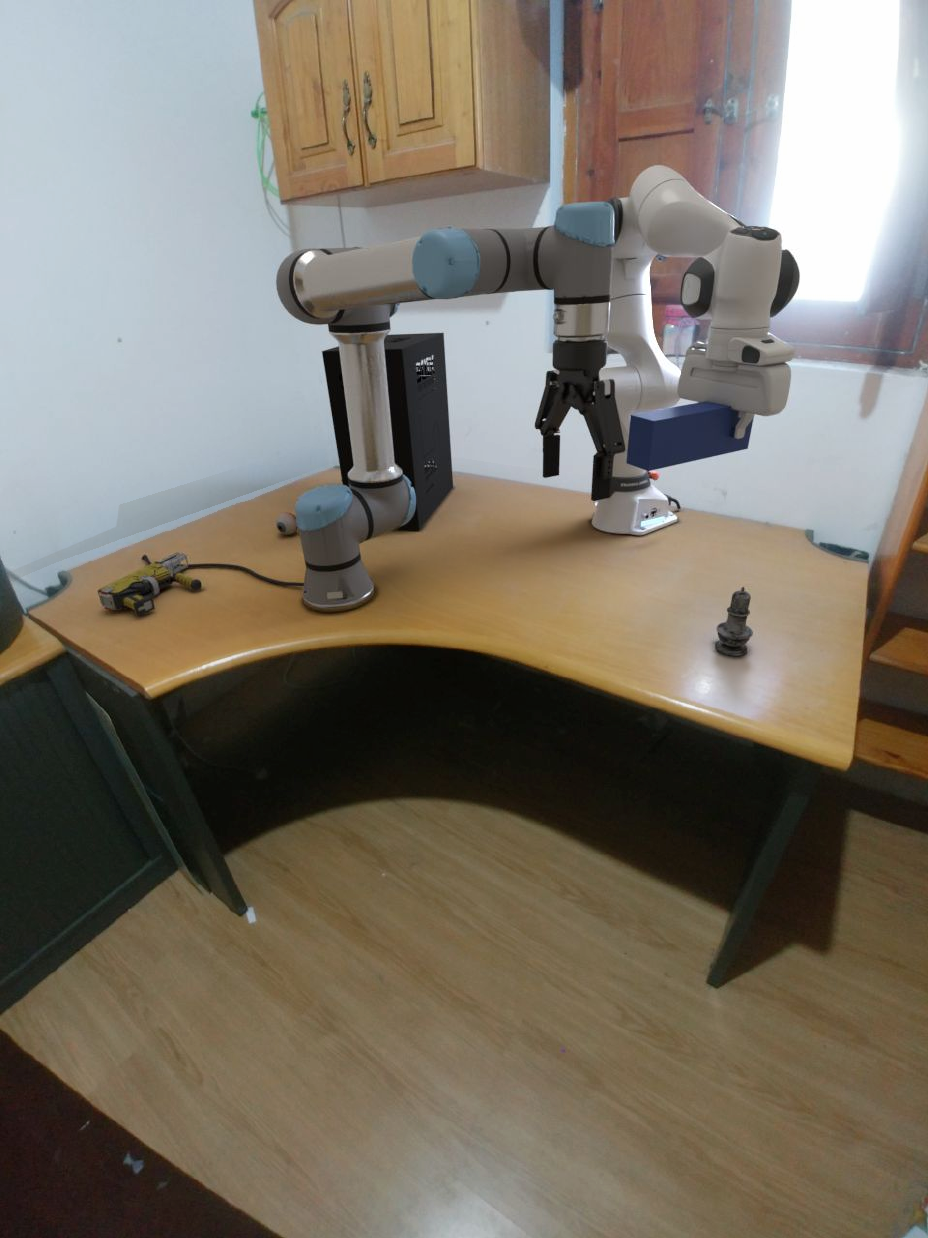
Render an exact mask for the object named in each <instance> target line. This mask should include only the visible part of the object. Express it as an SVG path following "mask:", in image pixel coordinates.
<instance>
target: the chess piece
mask: <svg viewBox="0 0 928 1238" xmlns="http://www.w3.org/2000/svg"><path fill="white" fill-rule="evenodd" d="M750 603H751V593H749V592H748V591H746V588H745V587H744V586H742V587H741V588H740V590H736V591H734V592H733V593H732V594H731V600H730V605H729V607H727V609H726V612H727V618H726V621H723V622H720V623H718V624H717V626H715V627H716V631H717V637H718V639H719V640H717V641H716V642H715V643H714V647H715V649H716V650H717V651H718V652H719V653H722V654H724V655H728V656H734V657H737V656H743V655H745V654H747V652H748V647H747V645H746V644H747V643H748V642H749V641H750V639H751V638H752V637H753V636H754V631H753V629H752V628H751V627H750V626H749V625H747V619H748V616H749V615H750V614H751V611H750V609H749V608H750Z"/></svg>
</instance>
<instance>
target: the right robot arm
mask: <svg viewBox="0 0 928 1238" xmlns="http://www.w3.org/2000/svg"><path fill="white" fill-rule="evenodd" d="M602 202H606V203H609V204H610V205H611V206H612V207H613V209H614V241H615V246H614V249H613V260H612V273H611V286H610V316H609V332H608V333H607V334H606V335H604V337H603V338H605V339H606V341H608V344H607V348H609V349H611V350H613V351H615V352H617V353H618V354H619V355H620V356H621V357H622V358H623V360H624V362H625V365H623V366H613V367H612V366H611V367H603V368H601V369H600V371H599V377H600V381H601V380H608V379H613V380H614V381H615V400H616V404H617V409H618V414H619V419H620V423H621V428H622V433H623V438H624V443H625V448H626V449H625V452H623V453H618V454H615V455H614V460H613V474H612V477H611V480H610V494H609V498H607V499H602V500H597V501H596V502H595V503H594V504H595V506H596V507H595V511H594V514H593V517H592V520H591V525H592V526H593V527H594V528H595V529H597V530H599V531H601V532H605V533H611V534H623V535H625V534H626V535H632V536H633V535H634V536H645V535H646V534H650V533H652V532H654V531H657V530H660V529H662V528H665V527H668V526H670V525H672V524H675V523H677V522H678V516H677V515H676V514H675V513H674V512H672V511H670V507H671V504H672V502H673V503H674V504H675V506H676V508H677V510H681V508H682V507H681V504H680V502H679V500H678V499H676V498H674V497H672V496H671V495H669V494H666V493H663V492H661V491H660V490H659V489H658V488H656V487H655V486H654V485H652V483H651V480H653V481H658V479H659V478H660V473H659V472H657V471H655V470H651V471H646V470H643V469H641V468H638V467H635V466H633V465H630V464H627V463H626V461H627V450H628V439H629V428H630V417H631V415H633V414H639V413H644V412H650V411H655V410H661V409H666V408H672V407H676V405H677V404H678V403H679V401H680V400H681V399H682V400H687V401H690V402H694V403H700V402H705V401H708V402H713V403H717V404H722V405H727V406H731V409H733V410H737V411H739V415H738V417H739V418H741V419H740V421H739V422H738V424H737V425H736V426H733V427H731V433H730V436H731V437H732V438H736V439H740V438H743V437H744V434H745V429H746V427H747V426H748V424H749V423H750V422H751V421H752V419H753V418H754V417H755V415H757V416H761V417H771V416H776V415H780V414H781V413H782V411H783V410H784V409H785V408H786V406H787V403H788V397H789V393H790V388H791V382H792V370H791V366H790V365H789V364H788V363H789V362H791V361H792V360H793V359H794V356H795V352H796V351H795V350H796V349H795V347H794V346H793V345H791V344H790V343H787V342H786V341H785V340H783V339H780V338H779V337H777V336H775V335H774V334H772V333H771V332H770V328H771V318H774V317H776V316H777V315H778V314H779V313H780V312H782V311H783V310H784V309H785V308H786V307H787V306H788V305H789V304H790V302H791V301H792V300H793V298H794V297H795V295H796V294H797V291H798V288H799V285H800V280H801V278H800V277H801V273H800V268H799V265H798V262H797V260H796V258H795V257H794V255H793V254H792V252H791V251H790V250H789V249H787V248H783V238H782V234H781V233H780V232H779V231H778V230H777V229H775V228H773V227H769V226H759V225H746V224H745V223H743V222H742V221H741V220H739V219H738V218H737V217H736V216H733V215H732V214H731V213H729V212H727V211H725V210H723V209H722V208H720V207H718V206H717V205H716V204H714V203H712V202H711V201H710V200H708V199H707V198H705V197H704V196H703V195H701V193H699V192H698V191H697V190H696V189H695V188H694V187H693V186H692V185H691V184H690V182H689V181H688V180H687V179H686V178H685V177H684V176H683V175H681V174H680V173H679V172H678V171H676V170H674V169H673V168H671V167H669V166H666V165H662V164H656V165H655V164H654V165H652V166H650V167H647V168H646V169H644V170H643V171H641V172H640V173H639V175H638V176H637V177H636V178H635V180H634V182H633V184H632V186H631V188H630V191H629V196H626V197H619V198H617V197H616V196H613V197H611V198H608V199H606V200H602ZM654 258H656V260H657V261H658V262H659V263H663V262H665V261H666V260H667V258H687V259H688V258H694V259H695V258H696V259H695V260H694V261H693V262H692V263H691V264H690V265H689V266H688V268H687V269H686V271H684V274H683V276H682V280H681V285H680V296H679V298H680V299H679V300H680V305H681V307H682V309H683V311H684V312H685V313H686V314H687V315H688V316H689V317H690V318H691V319H696V320H701V321H704V320H711V321H710V324H709V329H708V335H707V336H708V337H707V342H701V341H696V342H693V343H692V344H691V345H690V346H689V347H688V348H687V349H686V351H685V357H684V360H683V363H682V365H681V370H680V369H679V368H678V367H677V366H676V365H675V364H673V363H672V362H671V361H670V360H668V358H667V357H666V356H665V354H664V353H663V352H662V349H660V346H659V345H658V342H657V339H656V335H655V331H654V323H653V311H652V292H651V282H650V267H651V265H652V262H653V260H654ZM592 404H594V403H592ZM754 419H755V418H754ZM754 419H753V420H754ZM615 445H616V443H615ZM603 446H604V447H605V445H603Z"/></svg>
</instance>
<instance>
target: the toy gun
mask: <svg viewBox="0 0 928 1238" xmlns="http://www.w3.org/2000/svg"><path fill="white" fill-rule="evenodd" d="M185 560H186V563H184V564H186V565H184V564H183V563H181V562H182V561H185ZM151 563H152V564H150V565H148V564H147V565H146V566H144V567H142V568H139V569H136V570H135V571H133V572H131V573H129V574H126V575H125V576H123V577H121V578H119V579H116V580H114V581H112V582H110V583H108V584H106V585H104V586H102V587H100V588H98V590H97V594H98V597H99V603H100V604H101V607H102V608H104V610H106V611H107V610H108V611H109V612H110V611H111V612H112V611H113V610H115V611H119V610H126V609H129V608H130V609H132V610H134V612H135V616H136V617H141V616H143V615H145V614H148V613H150V612H152V611H154V610H156V608H155V604H154V599H153V597H155V596H156V595H159V594H160V590H161V589H163V588H166V587H169V586H171V585H173V583H177V584H179V585H181V586H184V587H187V588H188V589H192V591H195V592H196V591H199V590H200V589H201V588H203V587H202V581H201V580H200V579H197V578H193V577H191V576H188V575H187V574H183V573H182V571H183V570H185V569H188V568H189V567H188V564H189V562H188V556H187V554H186V553H183V552H182V553H180V552H178V551H176V552H175V553H173V554H171V555H168V556H166V557H164V558H162V559H161V560H157V561H154V562H151ZM177 565H180V566H177ZM181 565H183V566H181Z"/></svg>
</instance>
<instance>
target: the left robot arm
mask: <svg viewBox="0 0 928 1238" xmlns="http://www.w3.org/2000/svg"><path fill="white" fill-rule="evenodd" d="M554 216H555V217H554V223H553V224H551V225H548V226H540V227H528V228H527V227H525V228H458V227H456V226H449V227H441V228H436V229H429V230H427V231H426V232H424V233H423V234H422V235H421V236H420V235H419V236H415V237H410V238H405V239H401V240H396V241H390V242H386V243H380V244H377V245H371V246H368V247H366V246H365V247H363V246H352V247H329V248H328V247H325V248H304V249H299V250H296V251H294V252H292V253H290V254H289V255H287V256H286V257H285V258H284V259H283V260H282V262H281V263H280V265H279V267H278V270H277V273H276V278H275V279H276V280H275V285H276V292H277V295H278V299H279V301H280V303H281V305H282V306H283V307H284V309H285V311H287V312H288V313H289V315H291V316H292V317H293V318H295V319H296V320H298V321H300V322H302V323H304V324H305V323H306V324H309V325H316V326H317V325H318V326H323V325H327V328H328V334H329V335H330V336H331V337H333V339H334V340H336V342H337V343H338V346H339V351H340V359H341V367H342V375H343V383H344V391H345V399H346V407H347V415H348V423H349V431H350V439H351V447H352V455H353V463H354V466H353V468H352V469H351V470H350V471H349V473H348V481H349V487H348V486H346V485H343V484H342V483H329V484H327V485H319V486H316V487H313V488H311V489H309V490H307V491H305V492H304V493H302V494H301V495H299V497H298V498H297V500H296V502H295V504H294V515H295V516H296V525H297V527H298V529H297V531H298V535H299V540H300V546H301V549H302V555H303V560H304V564H305V574H304V581H303V582H295V581H293V582H292V581H282V580H277V579H273V578H270V577H267V576H264V575H261V574H259V573H257V572H255V571H254V570H252V569H250V568H248V567H245V566H242V565H238V564H237V565H236V564H230V563H217V562H216V563H213V562H212V563H210V562H209V563H207V562H206V563H188V568H209V567H212V568H213V567H214V568H229V569H230V568H231V569H237V570H241V571H243V572H247V573H249V574H251V575H252V576H254V577H256V578H258V579H261V580H263V581H266V582H269V583H272V584H276V585H281V586H287V587H289V586H290V587H303V588H302V598H303V602H304V603H303V604H304V605H305V606H306V607H307V608H308V609H310V610H312V611H315V612H319V613H328V614H329V613H330V614H331V613H342V612H347V611H350V610H354V609H356V608H359V607H361V606H364V605H365V604H367V603H368V602H369V601H371V600H372V598H373V597H374V595H375V584H374V581H373V579H372V578H371V576H370V575H369V573H368V571H367V568H366V567H365V564H364V562H363V559H362V556H361V547H360V544H362V543H364V542H368V541H369V540H371V539H374V538H377V537H379V536H382V535H384V534H387V533H390V532H394V531H397V530H396V529H398V528H399V527H401V526H403V525H405V524H406V523H408V522H409V521H410V520H411V518H412V517H413V515H414V512H415V508H416V495H415V491H414V488H413V487H411V482H410V480H409V479H408V478H407V477H406V476H405V475H403V472H402V469H401V468H400V467H399V466H398V465H396V464H395V462H394V451H393V440H392V429H391V417H390V406H389V395H388V384H387V373H386V362H385V350H384V339H385V337H386V336H387V335H389V333H390V332H391V330H392V329H391V328H392V327H391V318H392V317H393V316H394V315H395V314H396V313H397V312H398V310H399V306H400V305H401V304H404V303H405V304H406V303H415V302H424V301H433V300H453V299H459V298H465V297H466V298H467V297H472V296H473V297H474V296H481V295H494V294H504V293H505V294H507V293H515V292H530V291H553V315H552V319H553V331H552V332H553V334H552V335H553V336H555V337H557V339H555V340H554V342H553V343H552V360H551V361H552V368H553V370H547V371H546V374H545V384H544V385H545V386H544V389H543V393H542V396H541V400H540V403H539V407H538V411H537V414H536V418H535V421H534V429H535V430H539V431H540V432H539V433H540V435H541V436H542V478H543V479H547V478H552V477H557V476H560V462H561V461H560V458H561V457H560V455H561V435H560V433H561V431H560V427H561V426H562V424H563V422H564V420H565V418H566V417H567V415H568V413H569V412H570V410H571V408H572V409H574V410H576V411H578V413H579V415H580V416H583V418H584V421H585V424H586V426H587V429H588V432H589V435H590V437H591V440H592V442H593V446H594V447H595V451H596V453H594V454H593V456H592V457H593V459H592V473H591V475H592V476H591V490H590V491H591V492H590V501H592V502H598V500H602V499H607V498H609V494H610V480H611V477H612V474H613V460H614V455H615V454H618V453H623V452H625V449H626V448H625V443H624V438H623V433H622V428H621V423H620V419H619V414H618V409H617V404H616V400H615V381H614V380H613V379H608V380H601V381H600V377H599V371H600V369H603V368H605V366H607V361H608V359H607V358H608V346H607V344H608V341H606V339H605V338H603V337H604V335H606V334H607V333H608V332H609V316H610V286H611V273H612V260H613V249H614V246H615V241H614V209H613V207H612V206H611V205H610V204H609V203H606V202H603V201H586V202H583V201H582V202H574V203H568V204H563V205H560V206H559V207H557V209H556V211H555V215H554ZM592 403H594V404H592ZM615 443H616V445H615ZM603 445H605V447H604V446H603ZM141 560H144V561H145V562H146V564H147V566H148V565H150V564H152V563H153V562H151V561H150V558H148V556H147V554H143V555H142V556H141ZM186 564H187V563H184V565H186ZM177 566H180V564H179V565H177ZM181 566H183V565H181Z"/></svg>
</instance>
